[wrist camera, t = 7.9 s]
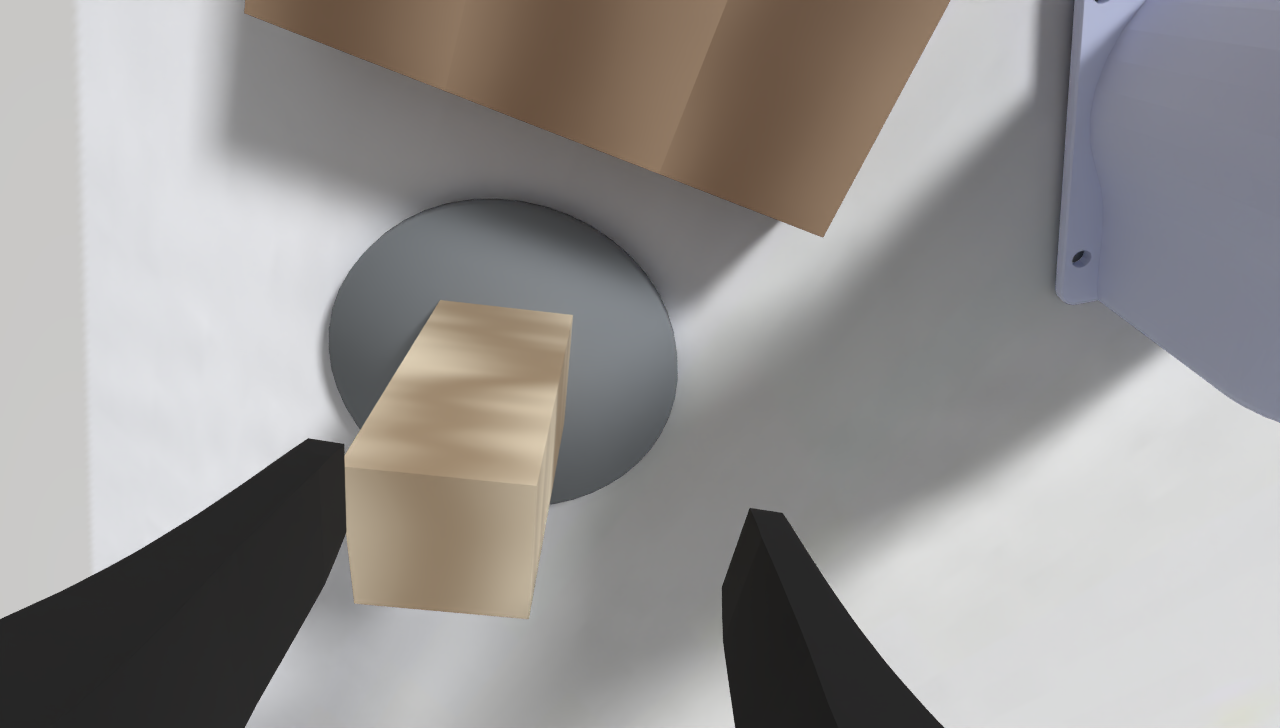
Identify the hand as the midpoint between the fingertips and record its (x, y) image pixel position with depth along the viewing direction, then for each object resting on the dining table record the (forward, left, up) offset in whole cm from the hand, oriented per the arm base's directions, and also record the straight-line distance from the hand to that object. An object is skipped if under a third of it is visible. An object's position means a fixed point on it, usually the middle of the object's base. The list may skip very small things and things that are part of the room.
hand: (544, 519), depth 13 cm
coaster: (-2, +3, -10) cm, 11 cm away
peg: (-2, +3, -10) cm, 10 cm away
